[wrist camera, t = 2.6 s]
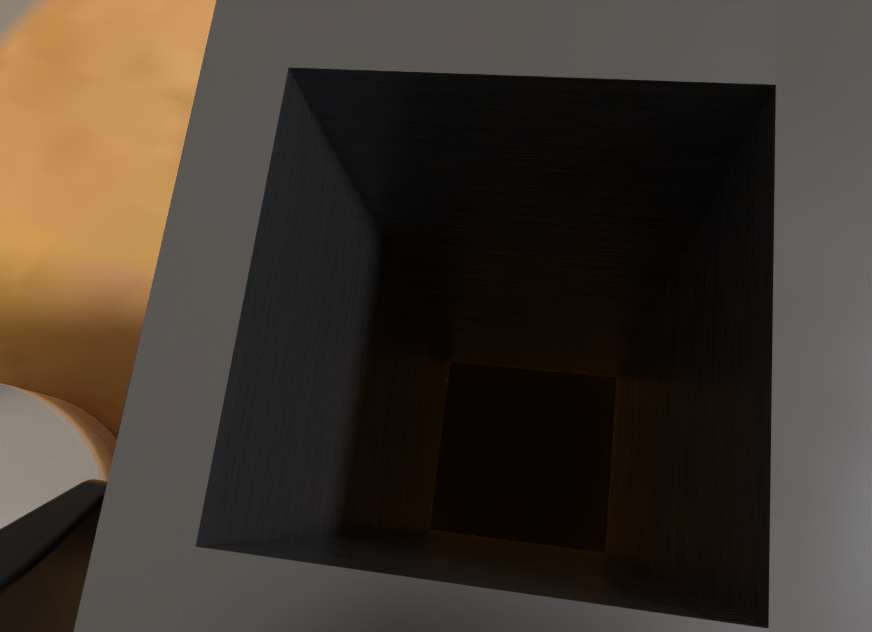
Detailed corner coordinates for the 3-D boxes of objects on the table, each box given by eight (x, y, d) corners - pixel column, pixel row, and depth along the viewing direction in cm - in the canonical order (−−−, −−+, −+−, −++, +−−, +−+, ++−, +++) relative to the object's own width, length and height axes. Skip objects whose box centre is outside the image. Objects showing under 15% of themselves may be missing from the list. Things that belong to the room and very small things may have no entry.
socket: (640, 595, 17) (904, 787, 5) (391, 560, 17) (70, 646, 5) (653, 347, 18) (884, -1, 6) (422, 327, 19) (220, -14, 7)
